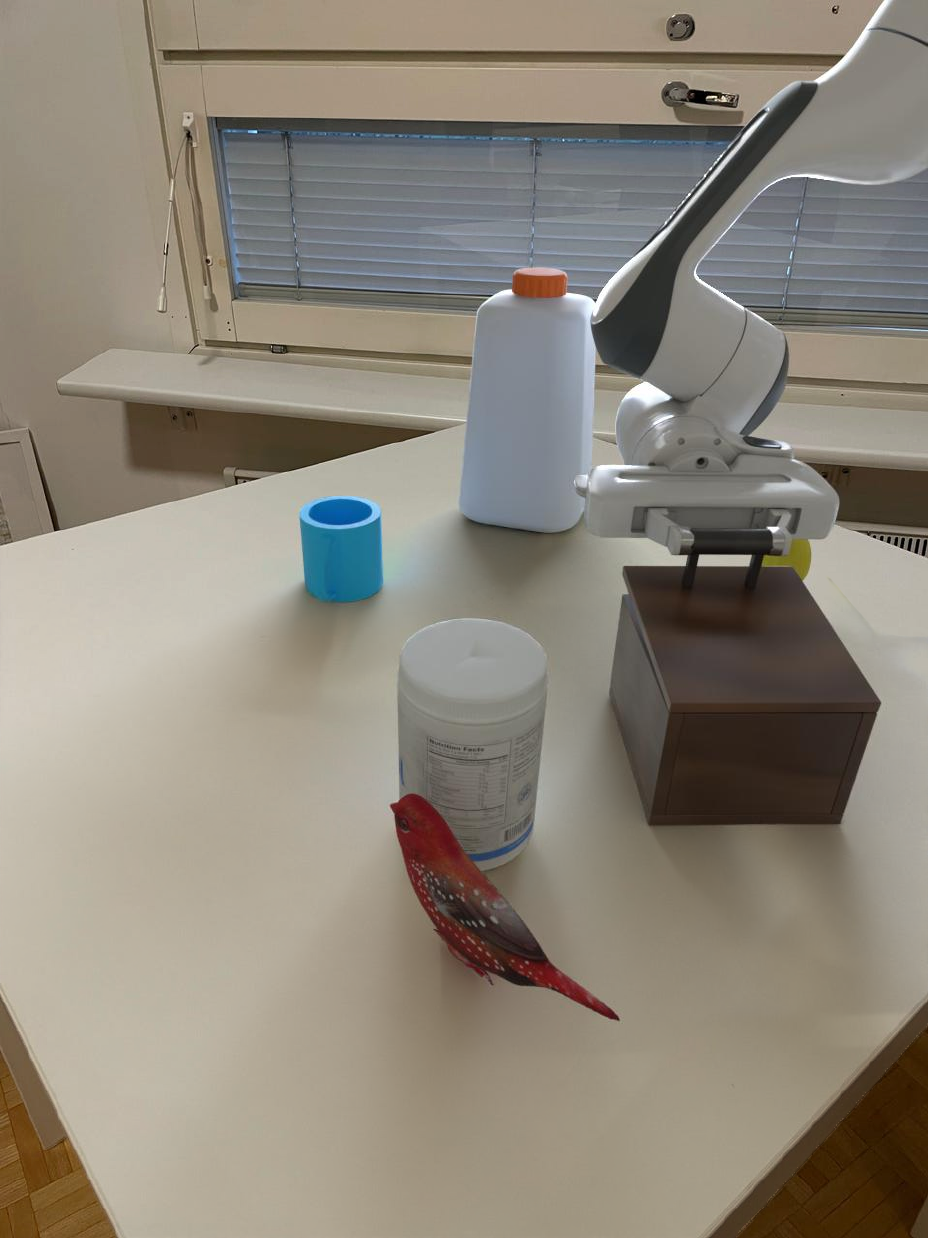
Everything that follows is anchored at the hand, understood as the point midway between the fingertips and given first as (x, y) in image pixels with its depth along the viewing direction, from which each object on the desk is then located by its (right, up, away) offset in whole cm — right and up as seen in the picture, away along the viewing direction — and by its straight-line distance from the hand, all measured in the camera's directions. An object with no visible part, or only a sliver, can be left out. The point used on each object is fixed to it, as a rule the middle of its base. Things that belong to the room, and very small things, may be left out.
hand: (733, 547), depth 65 cm
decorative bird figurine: (-19, -27, -14) cm, 36 cm away
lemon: (+13, -3, +27) cm, 30 cm away
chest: (0, -16, +4) cm, 17 cm away
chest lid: (0, -7, -1) cm, 7 cm away
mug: (-33, -3, +25) cm, 42 cm away
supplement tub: (-20, -20, -3) cm, 29 cm away
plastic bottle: (-12, +8, +45) cm, 47 cm away
